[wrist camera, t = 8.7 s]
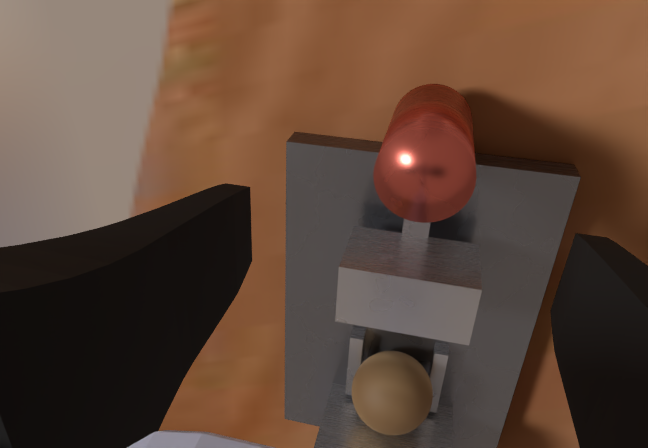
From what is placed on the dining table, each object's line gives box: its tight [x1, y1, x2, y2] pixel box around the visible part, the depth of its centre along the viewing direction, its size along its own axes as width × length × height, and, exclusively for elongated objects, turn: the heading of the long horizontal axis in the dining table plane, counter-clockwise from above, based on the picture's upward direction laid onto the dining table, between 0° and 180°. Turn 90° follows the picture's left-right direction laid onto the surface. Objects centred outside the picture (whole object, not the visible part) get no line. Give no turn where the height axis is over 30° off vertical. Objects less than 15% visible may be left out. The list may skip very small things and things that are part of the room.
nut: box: [352, 351, 433, 435], centre depth 23 cm, size 4×4×4 cm
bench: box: [285, 132, 581, 448], centre depth 22 cm, size 16×11×6 cm
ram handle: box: [335, 84, 482, 345], centre depth 18 cm, size 8×5×5 cm, turn 178°
